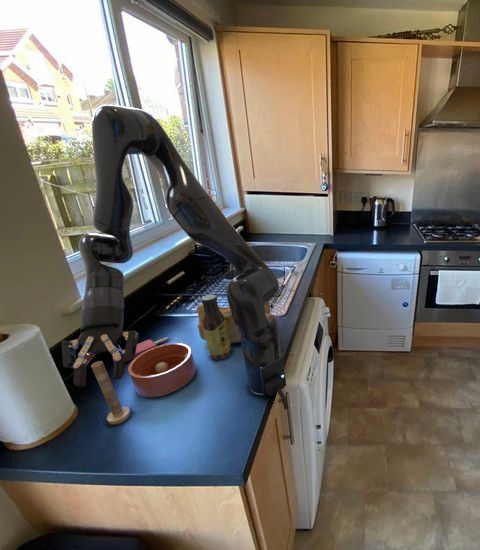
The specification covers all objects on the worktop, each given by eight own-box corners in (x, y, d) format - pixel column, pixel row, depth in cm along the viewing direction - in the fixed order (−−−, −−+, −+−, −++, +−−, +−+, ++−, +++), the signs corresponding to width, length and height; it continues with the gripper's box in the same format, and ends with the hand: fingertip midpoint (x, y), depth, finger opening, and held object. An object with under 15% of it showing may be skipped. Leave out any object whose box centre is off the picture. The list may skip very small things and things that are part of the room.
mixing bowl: (204, 378, 85) (199, 358, 83) (144, 408, 75) (136, 386, 73) (185, 355, 94) (180, 337, 91) (129, 380, 84) (122, 359, 82)
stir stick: (133, 416, 73) (111, 363, 67) (110, 428, 70) (85, 373, 64) (128, 407, 76) (107, 354, 70) (106, 417, 73) (82, 364, 67)
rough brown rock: (282, 321, 114) (277, 284, 109) (272, 345, 98) (265, 302, 93) (219, 325, 113) (211, 287, 108) (198, 349, 97) (188, 307, 92)
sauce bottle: (229, 359, 93) (216, 302, 85) (207, 362, 92) (192, 303, 84) (234, 346, 98) (223, 291, 91) (213, 348, 98) (200, 293, 90)
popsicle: (170, 338, 100) (115, 362, 89) (172, 342, 100) (117, 366, 90) (164, 332, 103) (109, 355, 92) (165, 336, 103) (111, 359, 93)
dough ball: (170, 371, 87) (167, 363, 86) (158, 376, 85) (155, 368, 84) (167, 366, 89) (164, 358, 88) (155, 371, 87) (152, 363, 85)
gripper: (54, 310, 67) (45, 389, 61) (132, 300, 71) (130, 373, 65) (75, 319, 73) (69, 391, 68) (145, 309, 78) (144, 376, 72)
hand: (99, 382), depth 67 cm, fingers open, 6 cm apart
